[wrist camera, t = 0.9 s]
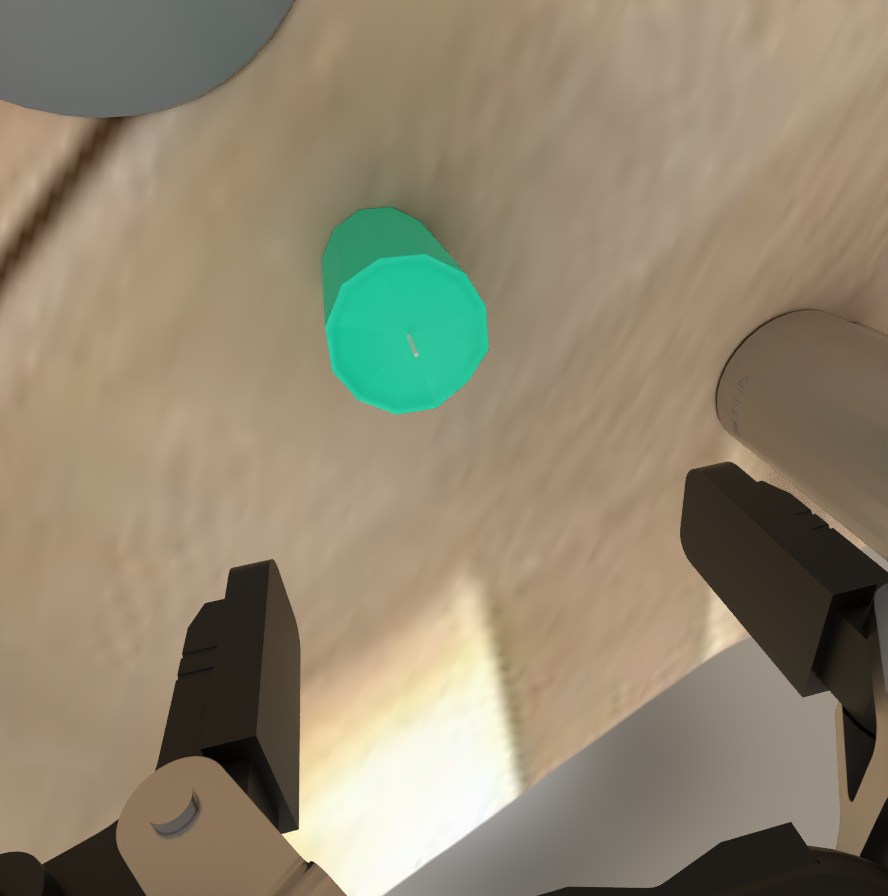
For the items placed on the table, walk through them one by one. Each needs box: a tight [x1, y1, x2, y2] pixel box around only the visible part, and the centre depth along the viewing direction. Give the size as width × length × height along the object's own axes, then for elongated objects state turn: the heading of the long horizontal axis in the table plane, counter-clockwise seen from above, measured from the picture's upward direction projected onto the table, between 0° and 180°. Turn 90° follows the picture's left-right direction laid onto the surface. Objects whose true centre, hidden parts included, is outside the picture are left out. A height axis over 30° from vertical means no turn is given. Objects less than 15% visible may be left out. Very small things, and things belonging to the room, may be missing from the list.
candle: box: [322, 207, 489, 415], centre depth 26 cm, size 6×6×12 cm
